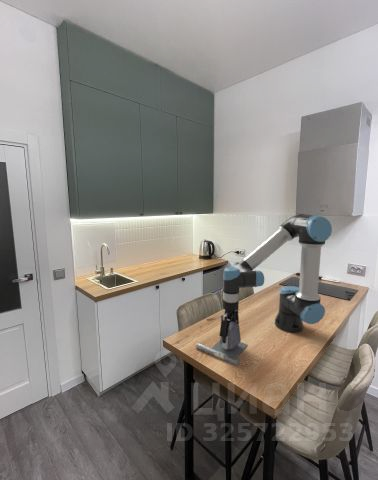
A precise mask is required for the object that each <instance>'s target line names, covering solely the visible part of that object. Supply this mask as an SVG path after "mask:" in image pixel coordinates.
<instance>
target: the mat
mask: <svg viewBox="0 0 378 480" xmlns="http://www.w3.org/2000/svg"><path fill="white" fill-rule="evenodd" d="M247 346H248V344H247V343H244V342H242V341H240V343H239V344H238V345H237V346H236V347H234V348H233V349H224V348H222V345H221V344H220V340H218V341H217V342H216V343H215V344H214V345H213V346H212V347H210V348H211V349H214V350H216V351H218V352H221V353H223V354H226V355H228V356H231V357H233V358H235V359H238V357H239V356H240V355H241V353H242V352H243V351H244V350H245V349H246V347H247Z"/></svg>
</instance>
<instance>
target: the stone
mask: <svg viewBox="0 0 378 480" xmlns="http://www.w3.org/2000/svg"><path fill="white" fill-rule="evenodd" d="M239 324H240V323H239ZM239 324H238V323H237V322H236V321H231V322H230V325H229V329H228V334H227V336H228V349H233V348H234V347H236V346H237V345H238V344H239V343H240V342H242V341H241V331H240V330H241V329H240V325H239ZM219 341H220V344H221V345H222V337H221V336H220V339H219Z"/></svg>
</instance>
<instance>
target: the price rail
mask: <svg viewBox="0 0 378 480" xmlns="http://www.w3.org/2000/svg"><path fill="white" fill-rule="evenodd" d="M195 348H196V349H198V350H200V351H202V352H204V353H207V354H209V355H212V357H213V356H214V357H215V358H218V359H220V360H223V361H225V362H227V363H230V364H232V365H234V366H236V367H237V366H239V363H240V360H239V359H238V358H236V359H235V358H233V357H231V356H228V355H226V354H223V353H221V352H218V351H216V350H214V349H211V348H212V347H208V346H206V345H204V344H201V343H199V342H197V343H196V344H195Z"/></svg>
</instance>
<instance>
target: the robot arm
mask: <svg viewBox="0 0 378 480" xmlns="http://www.w3.org/2000/svg"><path fill="white" fill-rule="evenodd" d="M332 227H333V226H332V224H331V222H330V220H329V219H328V218H326V217H325V216H322V215H316V214H315V215H314V214H304V213H301V214H300V213H299V214H295V215H293V216H291V217H289V218H288V219H287V220H285V221H284V222H283V223H281V224H280V225H279V226H278V227H277V230H276V231H275V232H273V234H272V235H270V236H269V237H268V238H267V239H266V240H264V241H263V242H262V243H261V244H259V245H258V246H257V247H256V248H255V249H254V250H252V251H251V252H250V253H249V254H248V255H246V256H245V257H244V258H243V259H242V260H241V261H239V262H238V261H236V262H234V263H232V265H231V266H229V267H228V266H227V267H225V268H224V270H223V276H222V281H223V283H222V308H223V310H224V315H222V314H221V316H220V318H221V320H220V321H221V322H220V326H219V327H220V330H219V337H220V338H221V337H222V348H224V349H228V336H227V334H228V329H229V325H230V322H231V321H236V322H237V323H238V324H240V321H239V319H240V317H239V304H240V303H239V300H240V289H243V288H244V289H245V288H257V287H262V286H263V285H265V284H264V283H265V275H264V273H263V271H261V270H255V269H256V268H257V267H259V266H260V265H261V264H262V263H263V262H264V261H266V260H267V259H268V258H269V257H270V256H271V255H273V254H274V253H275V252H276V251H278V250H279V249H280V248H281V247H282V246H284V244H286V243H287V242H290V241H293V240H294V239H295V238H298V244H300V246H301V252H300V253H301V254H300V269H299V270H300V271H299V283H298V284H299V285H298V286H293V285H286V286H285V285H284V286H282V287H281V288H280V290H279V304H278V312H277V314H276V316H275V319H274V326H276V328H278V329H279V330H282V331H285V332H288V333H299V332H302V331H303V329H304V323H306V324H308V325H315V324H318V323H319V322H320V321H321V320H323V318H324V317H325V315H326V309H325V306H323V304H321V300H322V299H321V295H320V294H319V293H318V290H319V279H320V278H319V277H320V267H321V265H320V264H321V253H322V252H321V251H322V247H323V246H325V244H326V241H328V239H329V237H331V236H332V232H333V229H332ZM303 322H304V323H303Z"/></svg>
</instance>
